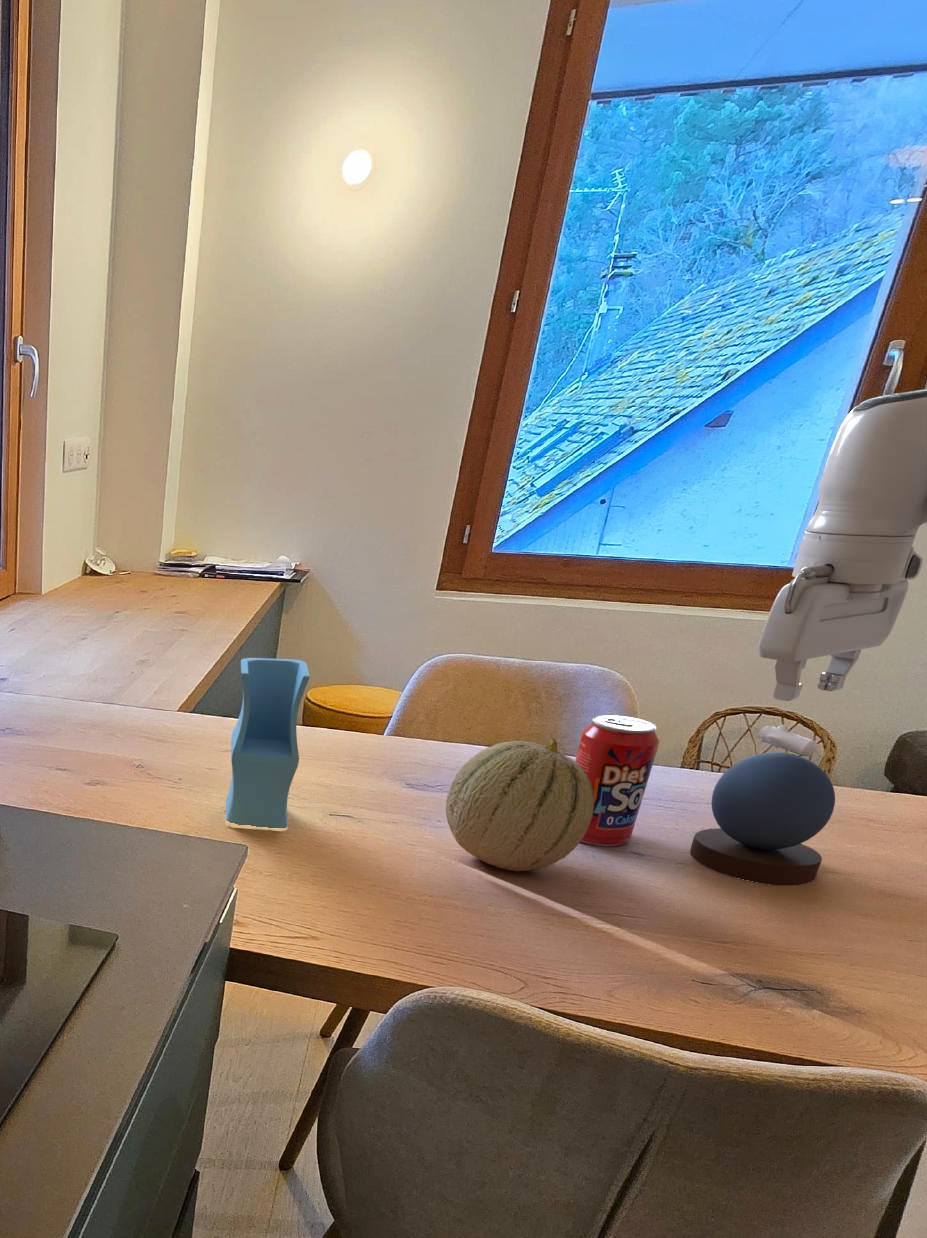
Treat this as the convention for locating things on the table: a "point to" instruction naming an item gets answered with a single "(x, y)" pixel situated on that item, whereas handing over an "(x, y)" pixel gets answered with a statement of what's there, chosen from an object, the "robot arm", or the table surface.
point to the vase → (265, 741)
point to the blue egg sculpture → (767, 820)
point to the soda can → (616, 774)
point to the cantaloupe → (520, 805)
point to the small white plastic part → (787, 740)
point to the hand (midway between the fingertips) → (807, 694)
